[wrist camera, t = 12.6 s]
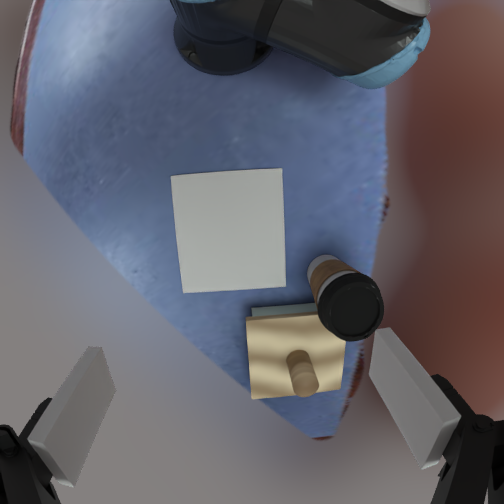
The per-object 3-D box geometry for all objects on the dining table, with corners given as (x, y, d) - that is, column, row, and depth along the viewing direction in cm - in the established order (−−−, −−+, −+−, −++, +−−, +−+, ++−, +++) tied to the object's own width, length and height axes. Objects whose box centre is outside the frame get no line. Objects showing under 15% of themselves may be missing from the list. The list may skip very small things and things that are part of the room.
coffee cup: (312, 305, 51) (337, 355, 37) (289, 262, 49) (310, 303, 35) (357, 281, 51) (396, 322, 36) (337, 236, 49) (375, 266, 34)
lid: (245, 316, 46) (247, 347, 38) (345, 308, 46) (364, 334, 38) (251, 394, 50) (253, 428, 42) (338, 384, 50) (351, 415, 43)
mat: (171, 175, 45) (170, 175, 44) (281, 168, 45) (281, 168, 45) (183, 291, 50) (183, 292, 49) (285, 285, 50) (285, 286, 50)
